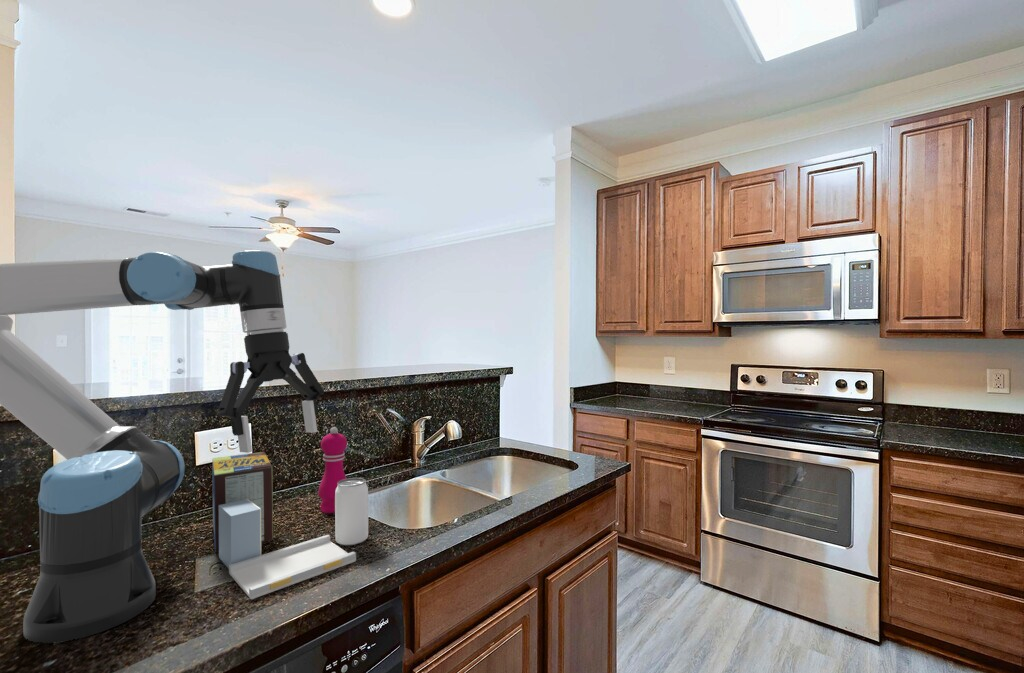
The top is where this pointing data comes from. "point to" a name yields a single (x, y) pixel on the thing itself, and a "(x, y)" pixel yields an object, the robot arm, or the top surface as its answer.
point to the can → (351, 511)
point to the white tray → (288, 566)
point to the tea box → (239, 531)
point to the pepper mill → (332, 468)
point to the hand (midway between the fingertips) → (281, 441)
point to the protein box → (243, 488)
